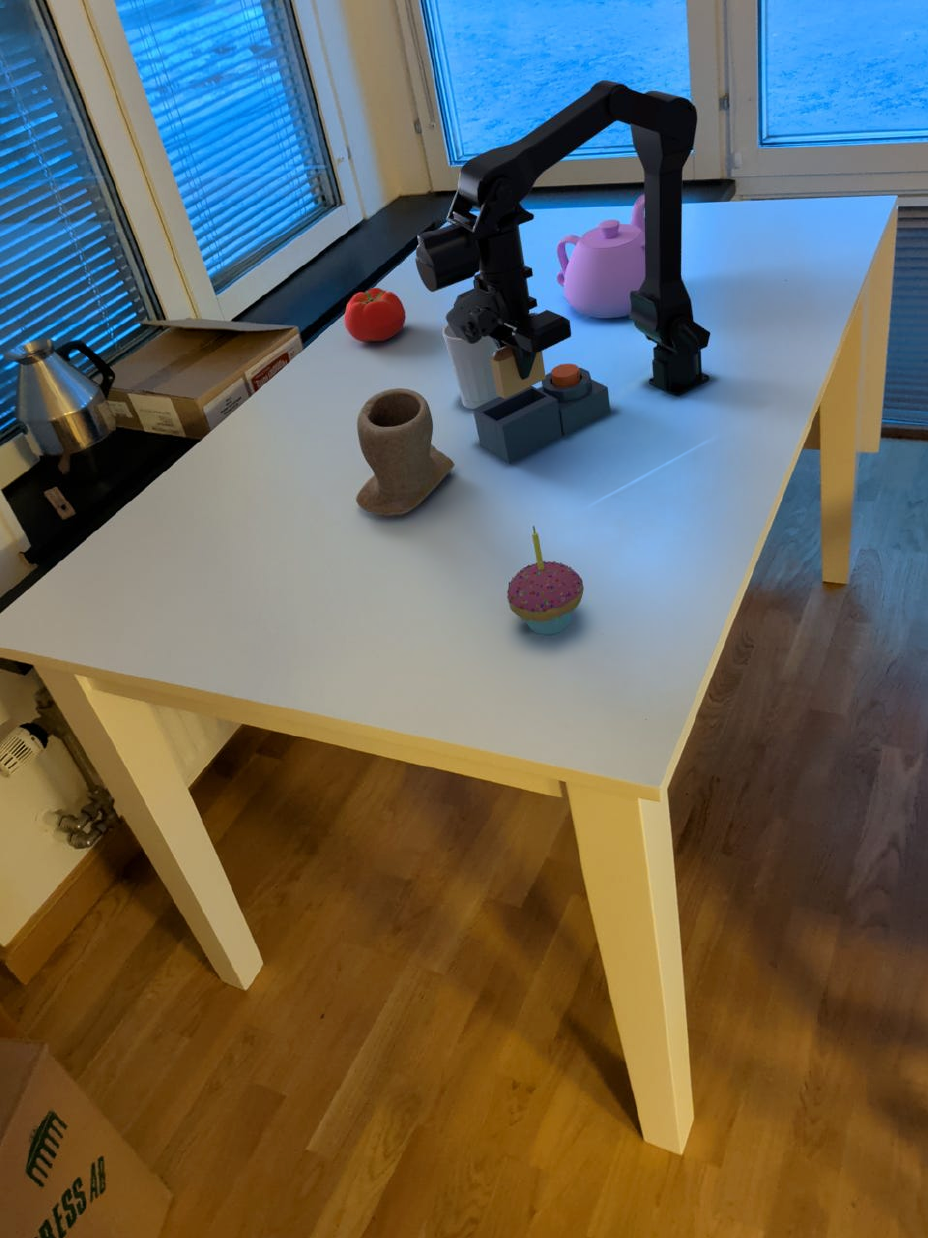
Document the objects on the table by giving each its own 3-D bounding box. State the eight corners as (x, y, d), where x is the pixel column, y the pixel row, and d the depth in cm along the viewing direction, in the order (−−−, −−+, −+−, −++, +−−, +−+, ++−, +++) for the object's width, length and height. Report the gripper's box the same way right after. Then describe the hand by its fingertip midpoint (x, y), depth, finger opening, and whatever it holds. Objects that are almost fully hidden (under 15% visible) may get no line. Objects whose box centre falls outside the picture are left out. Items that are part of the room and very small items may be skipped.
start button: (568, 371, 153) (567, 360, 152) (585, 379, 150) (584, 368, 149) (546, 382, 151) (545, 371, 150) (563, 391, 149) (562, 379, 148)
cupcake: (509, 605, 123) (492, 522, 116) (580, 591, 123) (568, 506, 115) (518, 653, 117) (501, 568, 109) (594, 638, 116) (582, 552, 109)
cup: (503, 410, 159) (490, 336, 151) (452, 413, 161) (437, 341, 154) (512, 384, 165) (499, 312, 157) (462, 387, 167) (448, 316, 159)
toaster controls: (576, 395, 158) (572, 359, 155) (610, 412, 153) (606, 375, 149) (531, 418, 156) (526, 381, 152) (564, 436, 150) (559, 399, 146)
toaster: (532, 419, 155) (526, 382, 152) (562, 436, 150) (557, 398, 146) (480, 445, 152) (472, 409, 149) (509, 464, 147) (502, 426, 143)
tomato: (397, 348, 182) (387, 307, 178) (340, 349, 186) (329, 310, 182) (418, 320, 190) (409, 280, 185) (363, 322, 194) (353, 283, 189)
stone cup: (416, 530, 139) (390, 431, 129) (347, 513, 145) (318, 417, 136) (478, 469, 148) (459, 372, 138) (411, 455, 154) (388, 362, 144)
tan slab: (537, 374, 146) (530, 330, 142) (546, 378, 144) (539, 334, 140) (496, 394, 143) (488, 350, 139) (505, 399, 142) (497, 355, 138)
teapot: (707, 273, 182) (704, 192, 174) (655, 331, 170) (649, 246, 161) (593, 266, 194) (585, 190, 185) (536, 320, 181) (524, 240, 172)
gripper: (410, 270, 137) (434, 379, 147) (491, 306, 124) (512, 422, 134) (480, 240, 141) (498, 348, 150) (566, 271, 127) (580, 387, 137)
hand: (519, 375), depth 143 cm, fingers closed on tan slab, 2 cm apart
